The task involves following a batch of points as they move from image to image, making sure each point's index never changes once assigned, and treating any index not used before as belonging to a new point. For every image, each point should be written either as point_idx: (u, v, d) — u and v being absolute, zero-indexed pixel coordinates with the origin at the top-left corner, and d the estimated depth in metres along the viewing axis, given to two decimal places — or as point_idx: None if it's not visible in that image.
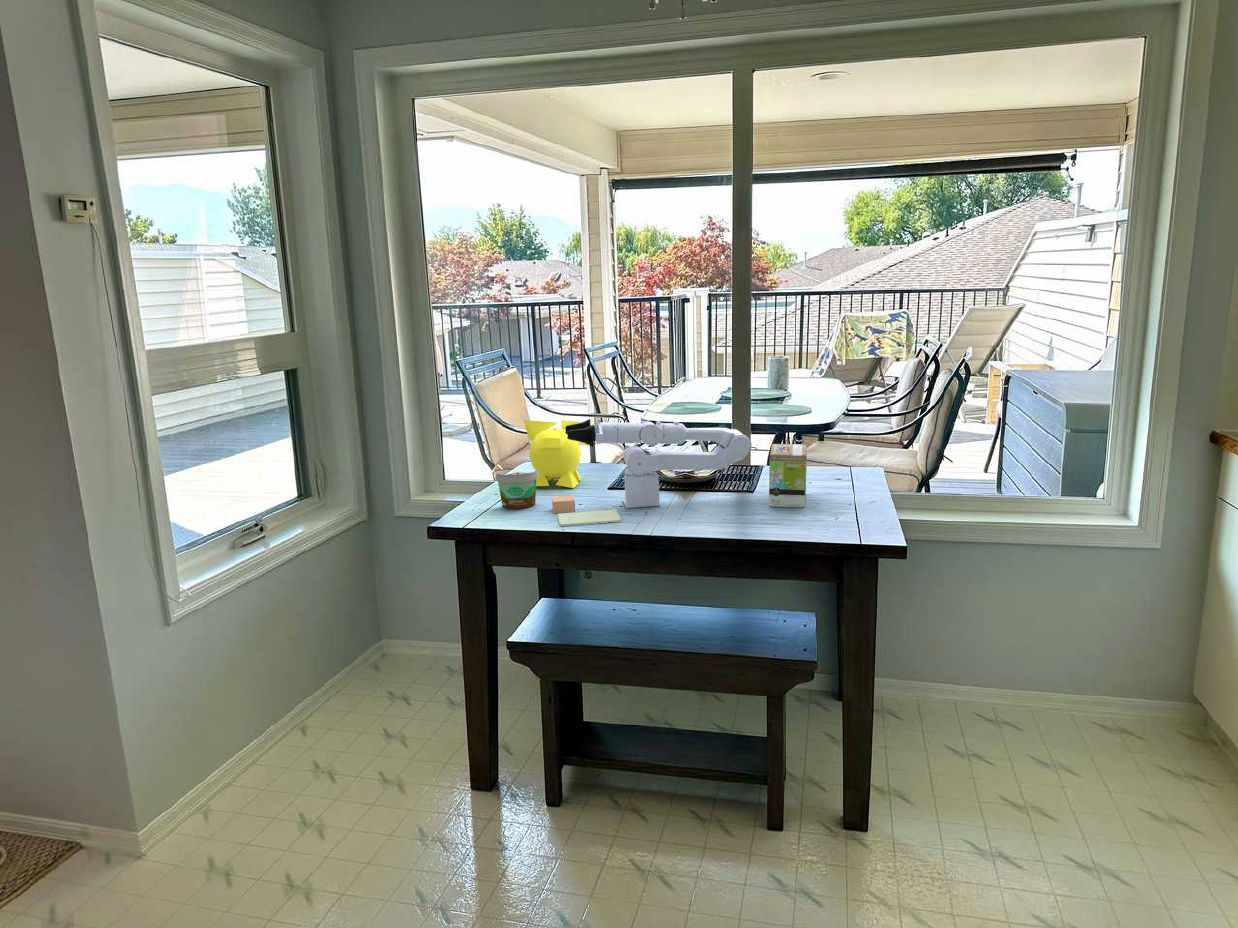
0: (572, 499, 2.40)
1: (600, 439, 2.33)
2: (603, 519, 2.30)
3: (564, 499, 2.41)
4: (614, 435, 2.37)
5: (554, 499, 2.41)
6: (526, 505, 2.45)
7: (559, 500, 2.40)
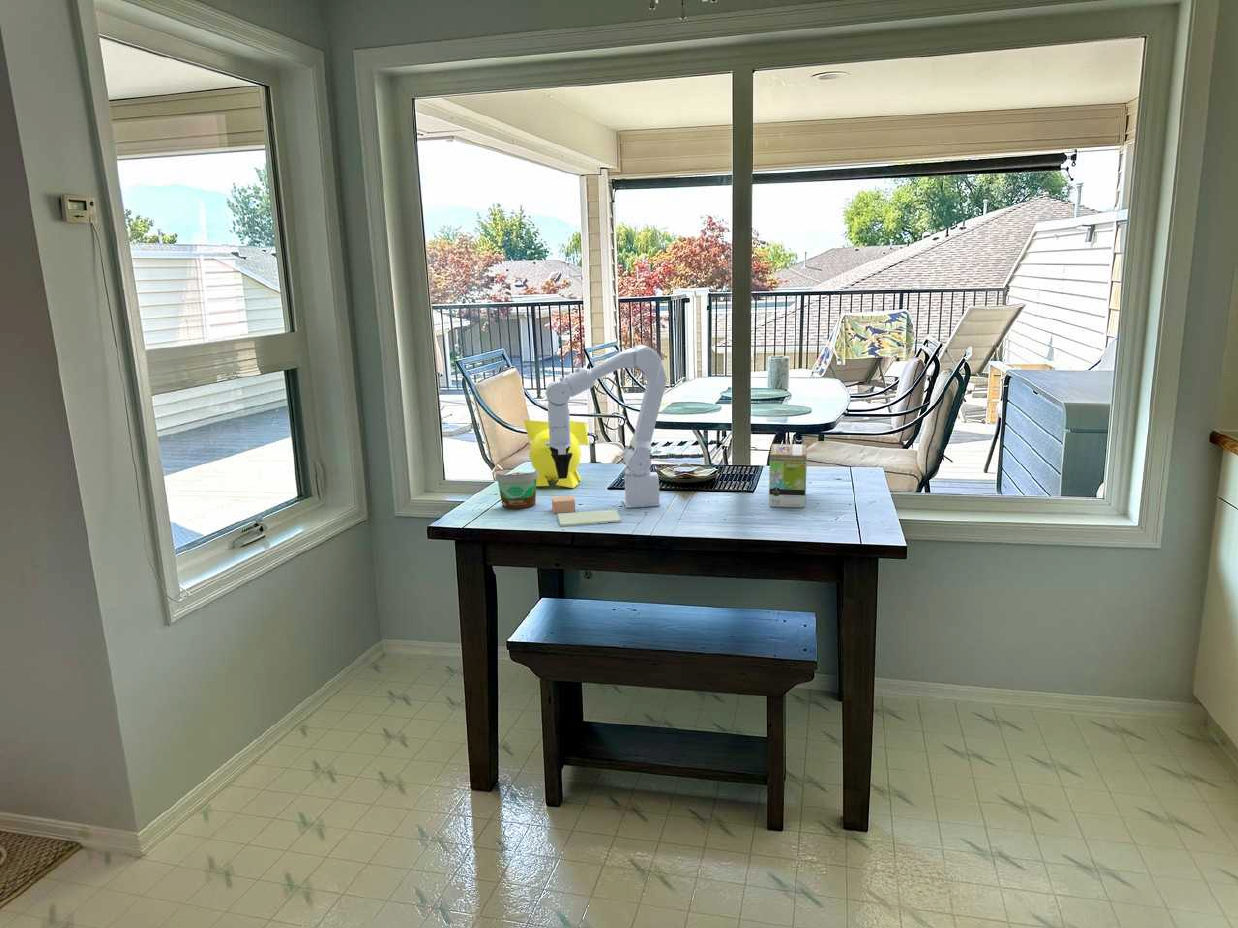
0: (572, 499, 2.40)
1: (563, 449, 2.31)
2: (603, 519, 2.30)
3: (564, 499, 2.41)
4: (560, 430, 2.34)
5: (554, 499, 2.41)
6: (526, 505, 2.45)
7: (559, 500, 2.40)
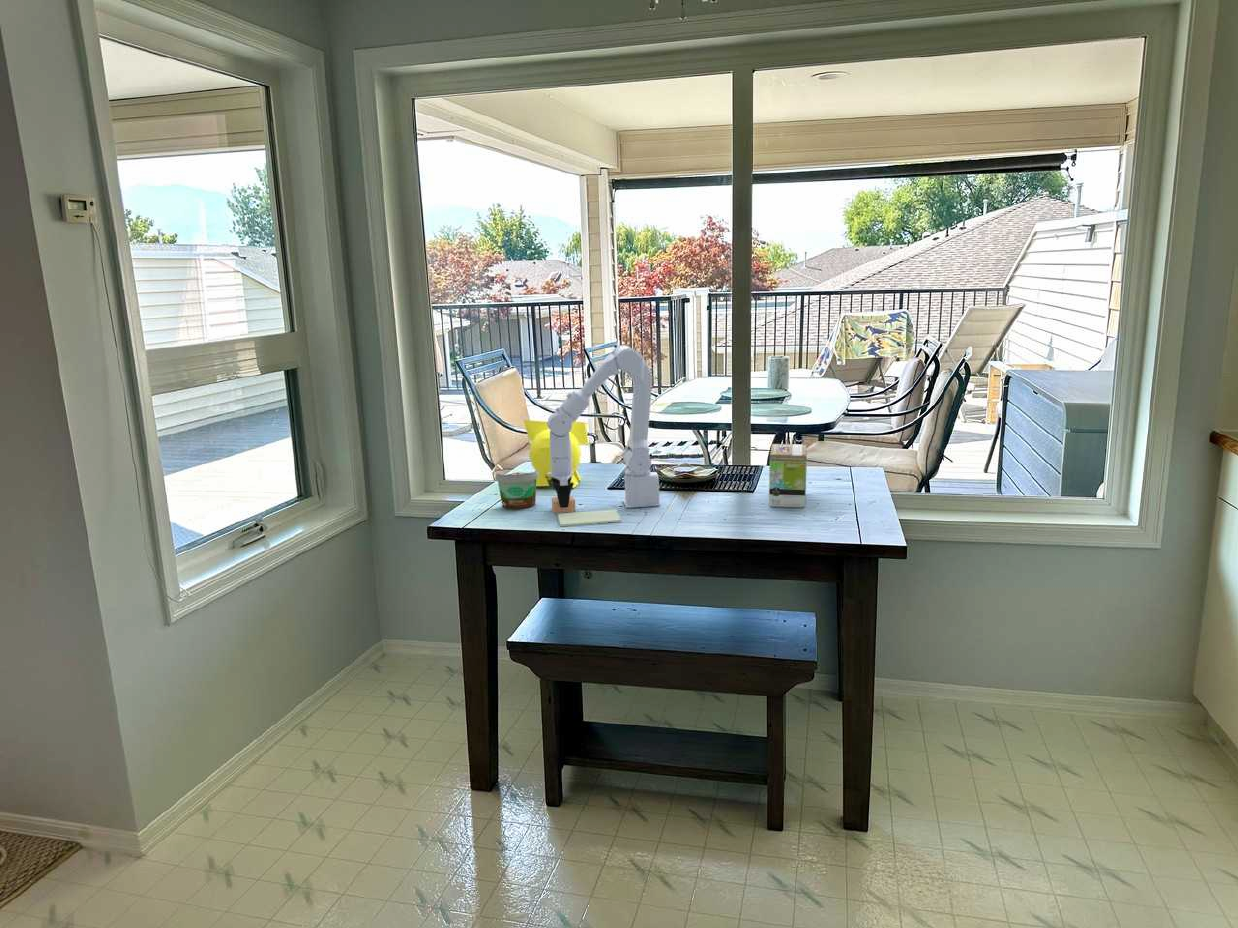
0: (573, 499, 2.40)
1: (565, 480, 2.33)
2: (603, 519, 2.30)
3: None
4: (562, 461, 2.36)
5: (554, 499, 2.41)
6: (526, 505, 2.45)
7: None
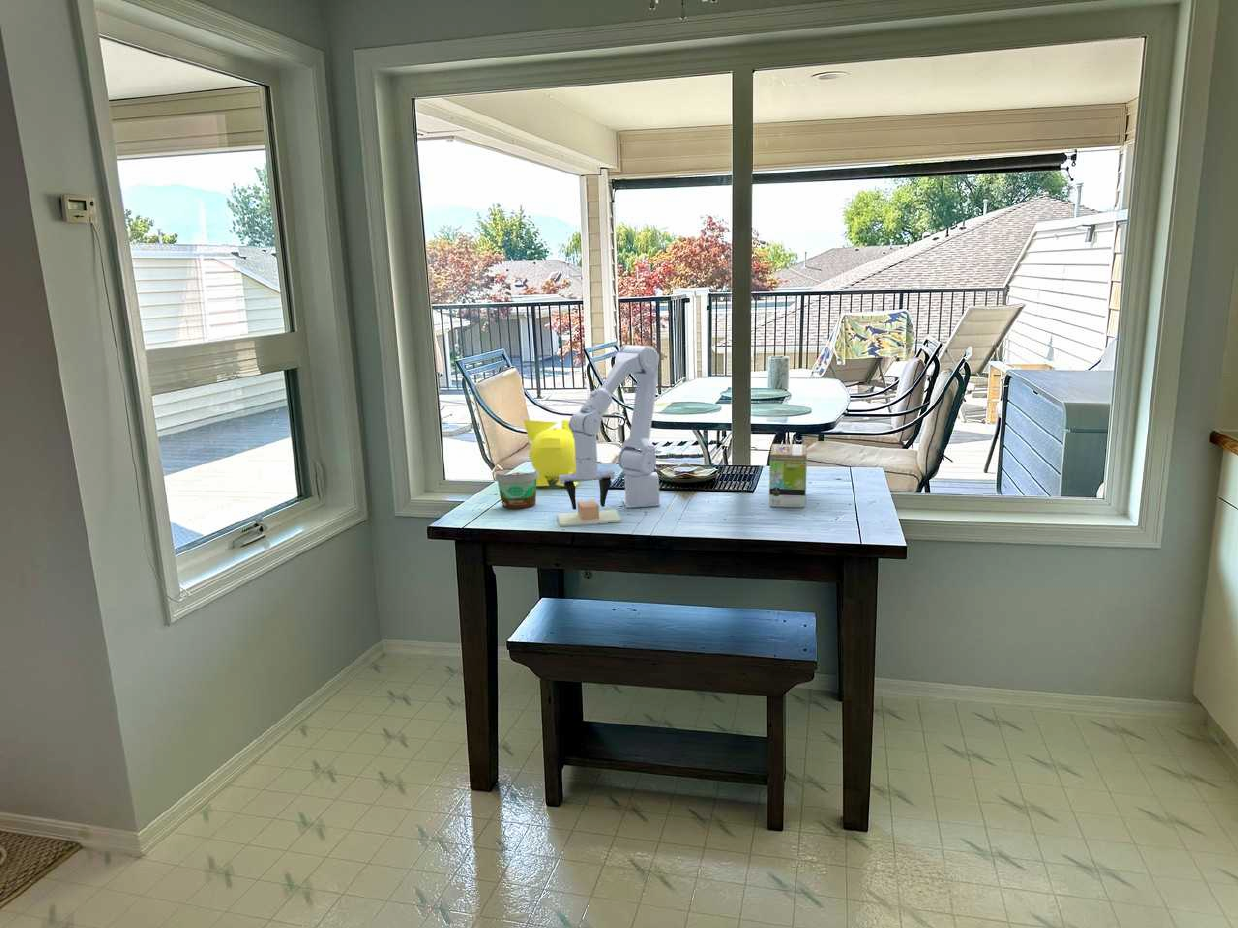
0: (583, 506, 2.30)
1: (560, 479, 2.28)
2: (603, 519, 2.30)
3: (585, 504, 2.32)
4: (575, 460, 2.29)
5: (586, 501, 2.35)
6: (526, 505, 2.45)
7: (582, 503, 2.33)
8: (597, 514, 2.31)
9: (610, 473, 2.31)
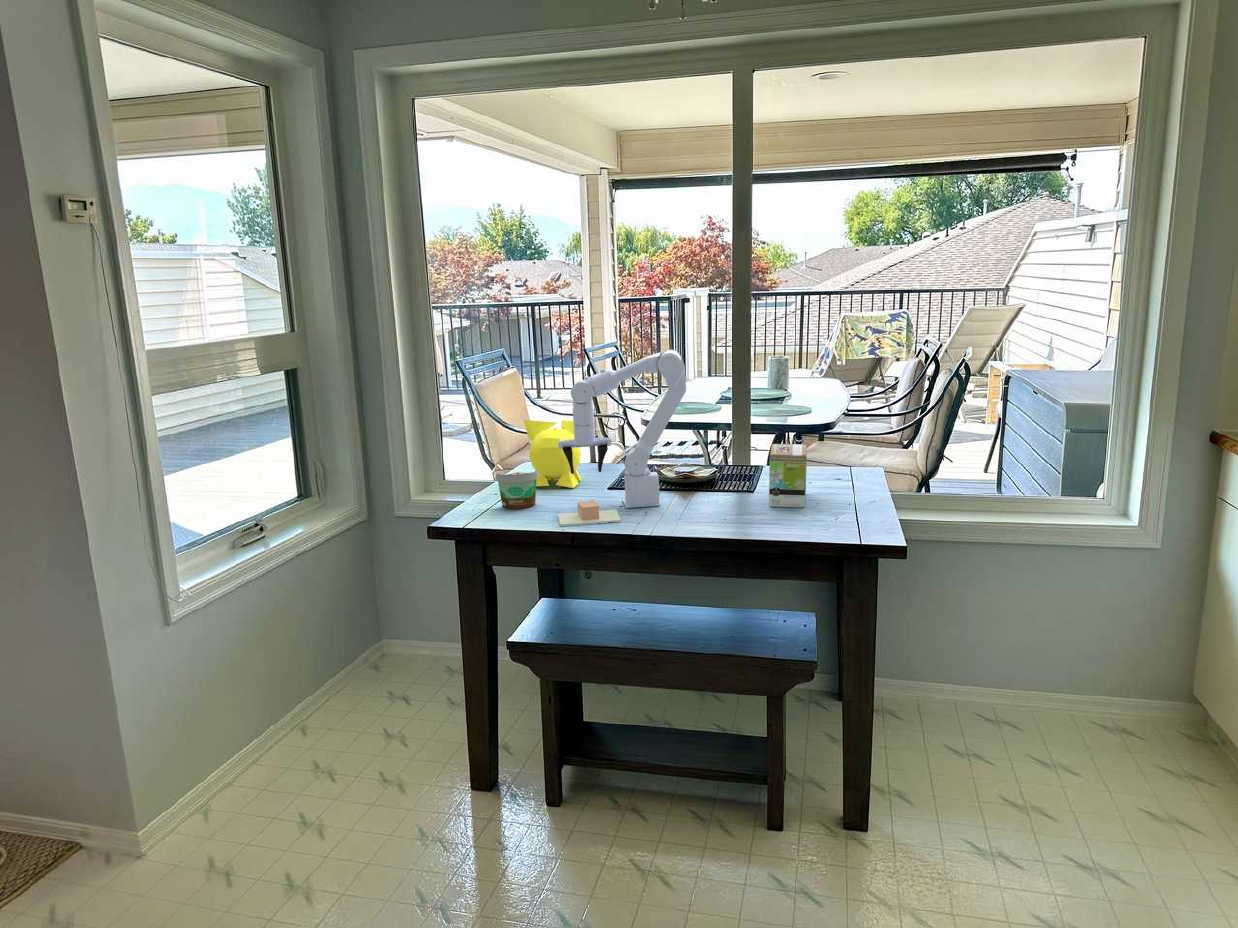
0: (583, 506, 2.30)
1: (558, 444, 2.41)
2: (603, 519, 2.30)
3: (585, 504, 2.32)
4: None
5: (586, 501, 2.35)
6: (526, 505, 2.45)
7: (582, 503, 2.33)
8: (597, 514, 2.31)
9: (607, 440, 2.42)
